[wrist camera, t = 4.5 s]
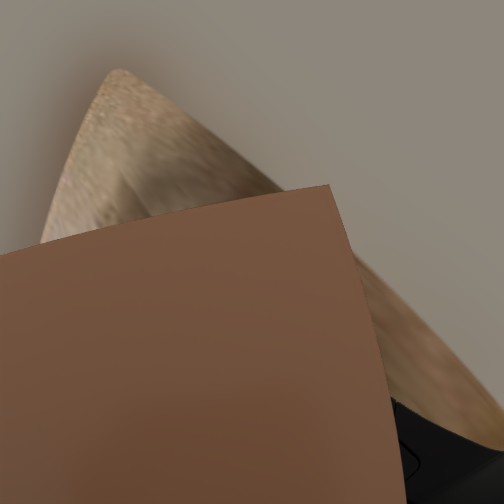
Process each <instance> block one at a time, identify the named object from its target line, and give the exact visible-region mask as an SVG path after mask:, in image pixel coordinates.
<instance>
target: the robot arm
mask: <svg viewBox="0 0 504 504" xmlns="http://www.w3.org/2000/svg"><path fill="white" fill-rule="evenodd" d="M390 398H391V403H392V408H393V414H394V419H395V424H396V430H397V436H398V442H399V448H400V455H401V462H402V469H403V476H404V484H405V493H406V502H407V504H504V451H499V450H494V449H490V448H487V447H485V446H482V445H480V444H478V443H475V442H473V441H471V440H469V439H466V438H464V437H462V436H460V435H458V434H455V433H453V432H451V431H449V430H447V429H445V428H443V427H441V426H439V425H437V424H435V423H433V422H431V421H429V420H427V419H425V418H424V417H422V416H420V415H419V414H417V413H415V412H414V411H412V410H410V409H409V408H407V407H406V406H404V405H403V404H401V403H400V402H397V403H396V400H395V399H394V398H392V397H391V396H390Z"/></svg>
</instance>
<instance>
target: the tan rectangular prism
mask: <svg viewBox="0 0 504 504" xmlns="http://www.w3.org/2000/svg"><path fill="white" fill-rule="evenodd" d="M0 504H407V502H406V493H405V484H404V476H403V469H402V462H401V455H400V448H399V442H398V436H397V430H396V424H395V419H394V414H393V408H392V403H391V398H390V393H389V389H388V384H387V379H386V375H385V370H384V366H383V361H382V357H381V353H380V349H379V345H378V341H377V337H376V333H375V329H374V325H373V321H372V318H371V314H370V310H369V307H368V303H367V299H366V296H365V292H364V289H363V286H362V282H361V279H360V276H359V272H358V269H357V266H356V262H355V259H354V256H353V253H352V250H351V247H350V244H349V241H348V238H347V235H346V232H345V229H344V226H343V223H342V220H341V217H340V214H339V211H338V208H337V206H336V203H335V200H334V197H333V195H332V192H331V190H330V187H329V185H322V186H316V187H309V188H303V189H296V190H290V191H284V192H278V193H272V194H266V195H260V196H254V197H249V198H243V199H238V200H232V201H227V202H222V203H216V204H211V205H206V206H201V207H196V208H191V209H186V210H181V211H176V212H172V213H167V214H162V215H158V216H153V217H148V218H144V219H139V220H135V221H131V222H126V223H122V224H118V225H113V226H109V227H105V228H101V229H97V230H93V231H89V232H85V233H81V234H77V235H73V236H69V237H65V238H61V239H57V240H54V241H50V242H46V243H42V244H39V245H35V246H32V247H29V248H24V249H21V250H17V251H14V252H11V253H7V254H4V255H0Z"/></svg>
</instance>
